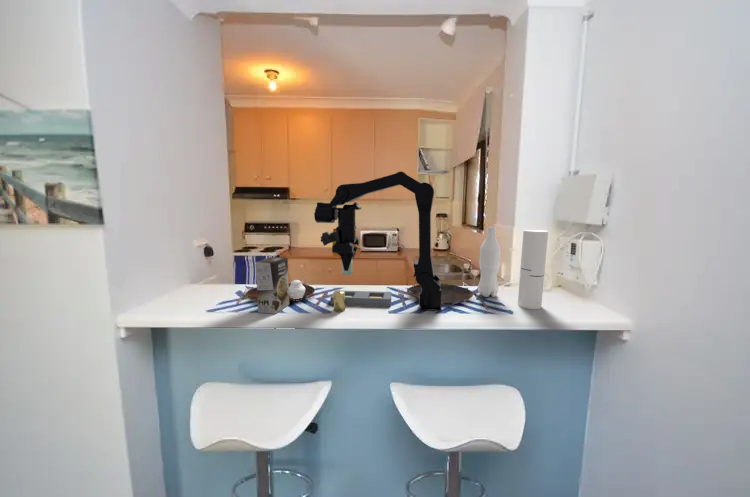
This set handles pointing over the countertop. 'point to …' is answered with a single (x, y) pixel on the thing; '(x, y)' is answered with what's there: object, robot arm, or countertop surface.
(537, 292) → the cylindrical container
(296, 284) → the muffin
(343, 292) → the brass plug
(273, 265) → the coffee box
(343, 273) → the sage plug
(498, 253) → the water bottle
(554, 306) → the countertop surface
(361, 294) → the panel
